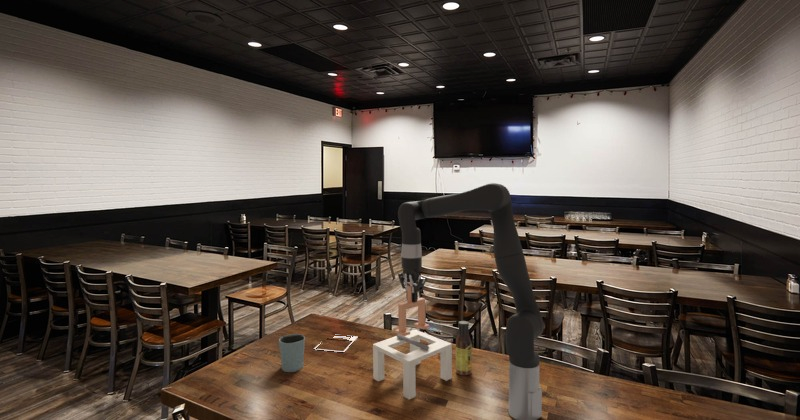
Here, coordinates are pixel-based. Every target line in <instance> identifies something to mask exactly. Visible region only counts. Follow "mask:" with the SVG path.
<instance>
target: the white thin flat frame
mask: <svg viewBox="0 0 800 420" xmlns="http://www.w3.org/2000/svg"><path fill="white" fill-rule="evenodd" d="M350 336H351V338H350V337H346V336H334V337H333V338H343V339H347V340H349V341H348V342H350V341H352V342H350V344H348V346H346V348H345V349H344V350H334V349H333V350H332V349H324V348H319V347H320V346H321V345H322V344H321V342H319V343H320V344H321V345H320V344H319V343H318V344H317V345H316V346H314V348H313V349H315V350H314V351H317V350H324V351H323V352H327V351H334V352H333V353H337V352H345V351H346V352H347V351H348V349H349V348H350V347H351V346H352V345H353V344H354V343H355V342H356V341H357V340H358V338H359V336H357V335H356V336H355V335H350ZM352 336H353V337H352ZM349 338H350V339H349ZM354 341H355V342H354ZM353 342H354V343H353ZM352 343H353V344H352ZM351 344H352V345H351ZM319 345H320V346H319ZM350 345H351V346H350ZM318 346H319V347H318ZM349 346H350V347H349ZM317 347H318V348H317ZM316 348H317V349H316ZM346 352H345V353H346Z"/></svg>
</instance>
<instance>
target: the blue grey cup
mask: <svg viewBox="0 0 800 420" xmlns="http://www.w3.org/2000/svg"><path fill="white" fill-rule="evenodd" d="M305 341H306V336H305V335H303V334H299V333H292V334H285V335H283V336H281V337H279V339H278V344H279V353H280V355H279V356H280V363H281V370H282V371H283V372H285V373H294V372H298V371H301V370H302V369H303V367H304V360H305V359H304V355H305V344H306V342H305Z"/></svg>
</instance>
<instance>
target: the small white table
mask: <svg viewBox="0 0 800 420" xmlns="http://www.w3.org/2000/svg"><path fill="white" fill-rule="evenodd" d="M409 331H410V335H407V336H402V335H399V334H397V333H396V335H395V336H392V337H390V338H386V339H384V340H380V341H378V342H375V343H373V344H372V359H373V360H372V364H373V365H372V366H373V367H372V368H373V369H372V372H373V379H374V380H375V381H377V382H378V383H379V382H381V381H383V380H385V379H386V378H385V376H386V375H385V355H386V356H388V357H390V358H392V359H394V360H396V361H398V362H401V363H402V369H403V370H402V379H403V381H402V382H403V384H402V385H403V386H402V387H403V388H402V389H403V391H402V393H403V397H404V398H405V399H407V400H412V399H414V398H416V397H417V396H416V382H417V381H416V366H418V365H420V364H421V361H423V360H426V359H429V358H430V357H433V356H435V355H438V354H439V355H440V360H439V361H440V379H441V380H444V381H445V382H447V381H449V380H451V379H452V378H453V372H452V371H453V370H452V369H453V363H452V362H453V359H452V358H453V357H452V356H453V352H452V351H453V350H452V347H453V344H452V343H451V342H449V341H446V340H443V339H440V338H439V337H435V336H433V335H430V334H428V333H426V332H423V331H420V330H417V329H412V330H409ZM421 340H422V341H424V342H427V343H428V345H426V344H424V343H421ZM407 343H408V344H409V352H408V353H404V352H402V351H399V350H397V349H395V348H396V347H400V346H401V345H405V344H407Z"/></svg>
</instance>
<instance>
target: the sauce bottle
mask: <svg viewBox="0 0 800 420" xmlns="http://www.w3.org/2000/svg"><path fill="white" fill-rule="evenodd" d="M469 323H470V322H469V321H468V320H467V321H466V320H461V321H458V322H457V324H458V334H457V336H456V337H455V372H456V374H458V375H460V376H469V375H471V373H472V368H473V363H472V362H473V360H472V358H473V357H472V356H473V350H472V349H473V343H472V339H471V337H470V333H469V326H470V324H469Z"/></svg>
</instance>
